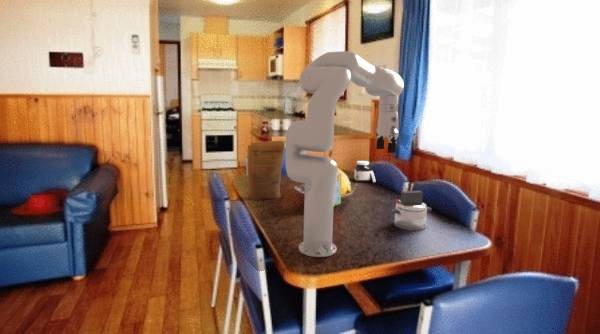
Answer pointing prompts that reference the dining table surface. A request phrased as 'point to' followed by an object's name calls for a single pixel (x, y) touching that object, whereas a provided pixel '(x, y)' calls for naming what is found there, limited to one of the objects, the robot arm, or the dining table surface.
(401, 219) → the pot
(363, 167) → the spread jar
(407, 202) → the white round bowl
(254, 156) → the pancake mix bag
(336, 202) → the snack box
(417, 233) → the dining table surface
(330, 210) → the robot arm
